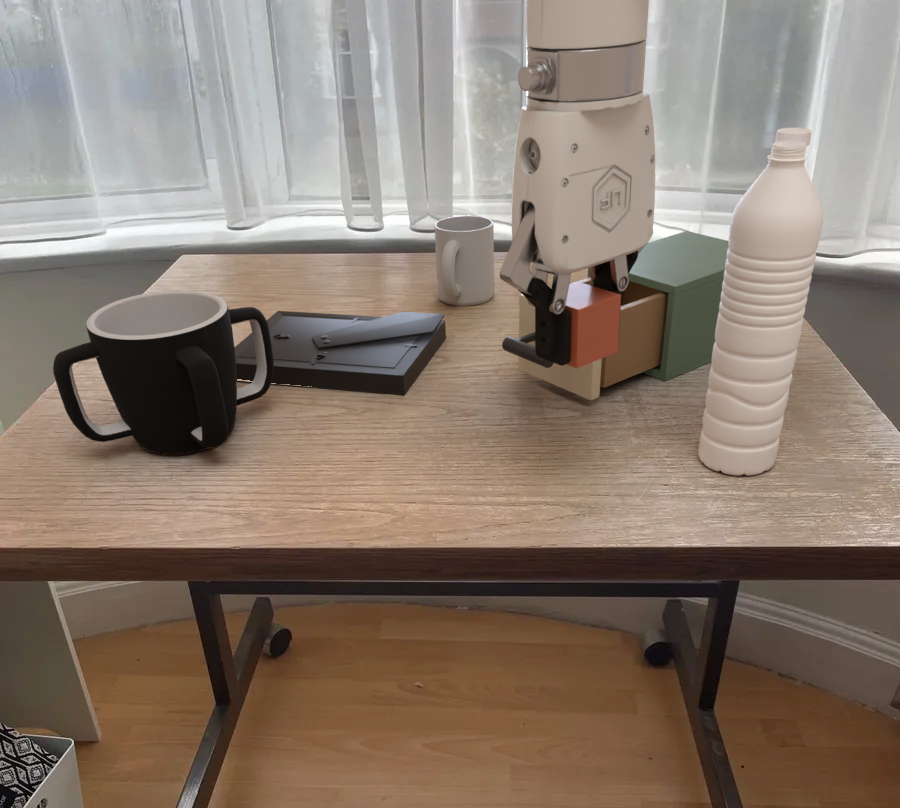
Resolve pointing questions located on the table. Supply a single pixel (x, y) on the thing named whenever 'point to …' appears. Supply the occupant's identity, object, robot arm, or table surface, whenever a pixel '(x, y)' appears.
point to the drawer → (634, 356)
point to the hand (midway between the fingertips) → (577, 347)
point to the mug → (167, 369)
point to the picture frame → (347, 350)
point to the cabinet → (684, 296)
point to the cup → (465, 260)
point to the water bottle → (761, 311)
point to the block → (592, 323)
